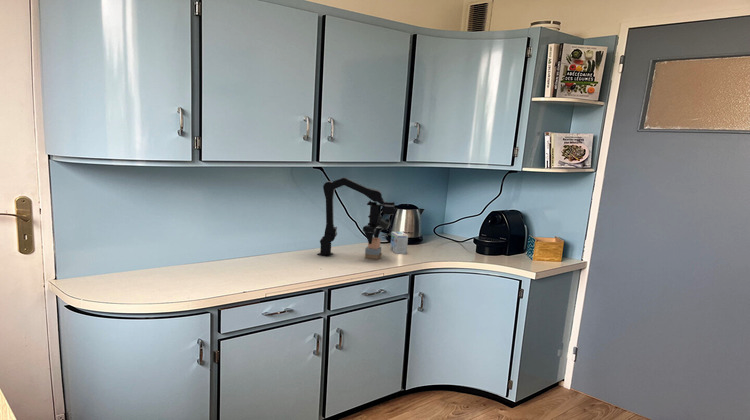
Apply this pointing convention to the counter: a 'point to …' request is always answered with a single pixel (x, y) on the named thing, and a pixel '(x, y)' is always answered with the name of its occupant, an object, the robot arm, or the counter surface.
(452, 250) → the counter surface
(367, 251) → the slate grey block
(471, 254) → the counter surface
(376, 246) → the terracotta cube
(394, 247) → the light bulb box
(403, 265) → the counter surface
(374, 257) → the walnut block
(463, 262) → the counter surface
